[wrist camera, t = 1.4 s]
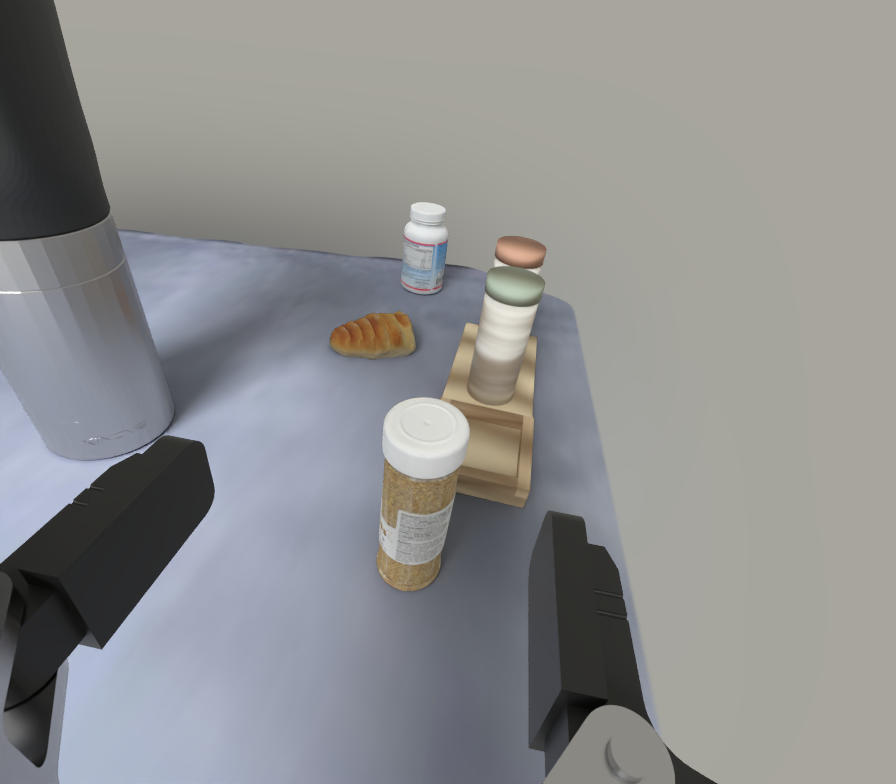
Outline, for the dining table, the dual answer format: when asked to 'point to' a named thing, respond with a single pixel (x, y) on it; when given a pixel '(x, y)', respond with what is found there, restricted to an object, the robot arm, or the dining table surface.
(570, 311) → the dining table surface
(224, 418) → the dining table surface
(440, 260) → the pill bottle
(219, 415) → the dining table surface
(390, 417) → the spice jar
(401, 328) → the pastry
